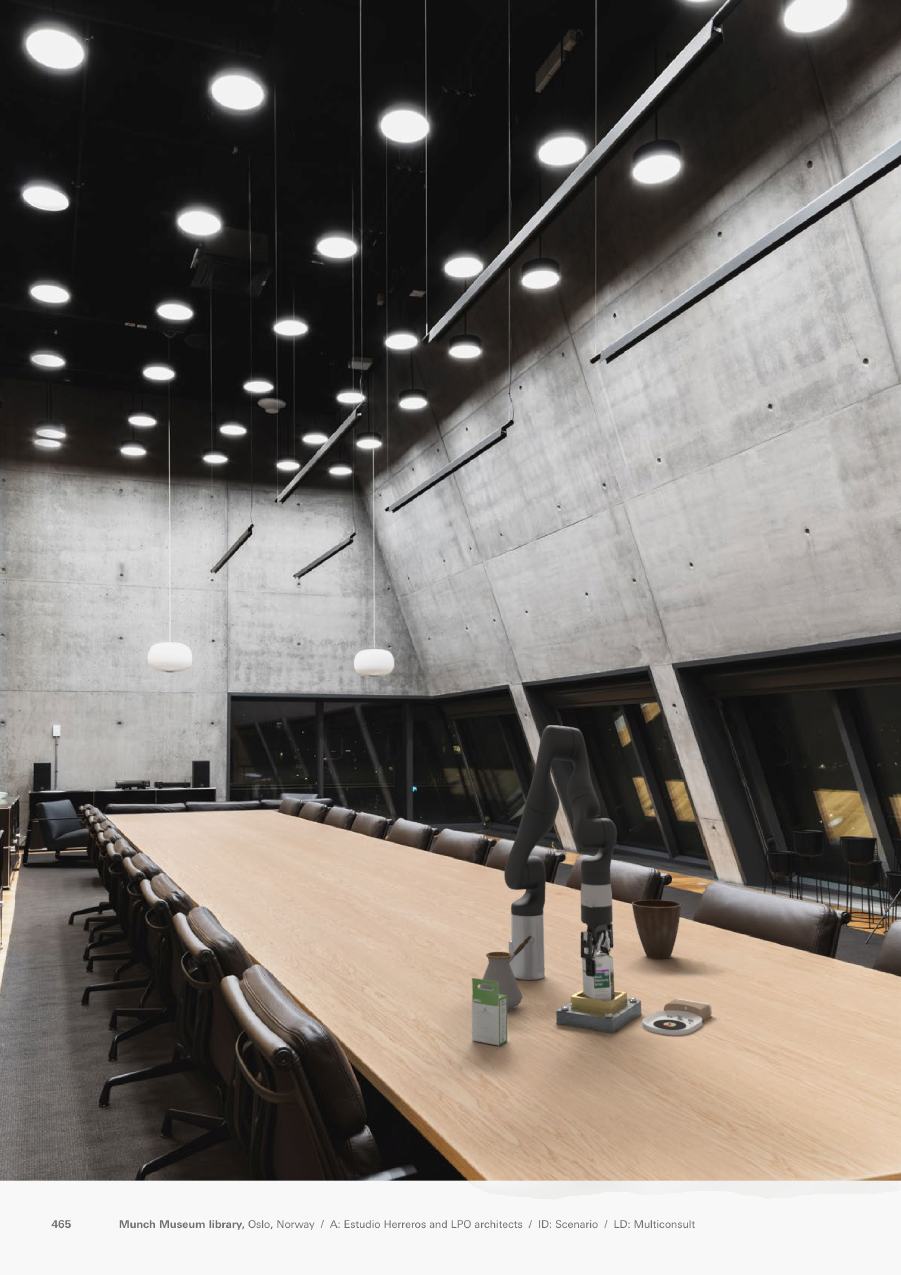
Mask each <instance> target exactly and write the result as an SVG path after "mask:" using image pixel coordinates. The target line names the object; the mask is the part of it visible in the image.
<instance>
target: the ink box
mask: <svg viewBox="0 0 901 1275" xmlns="http://www.w3.org/2000/svg"><path fill="white" fill-rule="evenodd" d="M480 984H487V985H490V986H492V987H493V990H487V989H480V988H479V986H480ZM471 985H472V986H471V988H472V995H471V1014H472V1015H471V1020H472V1021H471V1022H472V1023H471V1028H472V1029H471V1036H472V1037H471V1038H472V1039H471V1040H472V1041H474V1042H479V1043H484V1044H489V1045H493V1046H494V1045H495V1046H501V1045H503V1044H506V1043H507V1042H508V1012H507V995H501V994H499V982H498V981H491V980H483V978H475V977H472V978H471Z"/></svg>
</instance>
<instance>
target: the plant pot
mask: <svg viewBox="0 0 901 1275" xmlns="http://www.w3.org/2000/svg"><path fill="white" fill-rule="evenodd" d="M631 904H632V911H633V917H634V921H635V925H636V929H637V933H638V937H639V940H640V943H641V945H642V946H641V947H642V948H643V950H644V953H645V956H646V957H647V958H650V959H657V960H658V959H659V960H660V959H661V960H663V959H670V958H671V957H672V953H673V951H674V948H675V943H676V940H677V934H678V930H679V924H680V918H681V907H682V904H681V903H680V902H677V901H672V900H664V899H663V900H662V899H642V900H635V901H632V902H631Z"/></svg>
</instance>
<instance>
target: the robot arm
mask: <svg viewBox="0 0 901 1275" xmlns="http://www.w3.org/2000/svg"><path fill="white" fill-rule="evenodd" d="M541 734H542V735H541V736H540V740H539V746H538V750H537V758H536V762H535V766H534V771H533V776H532V780H531V784H530V787H529V790H528V794H527V797H526V800H525V803H524V807H523V811H522V815H521V820H520V823H519V826H518V830H517V833H516V836H515V839H514V842H513V844H512V847H511V849H510V852H509V855H508V856H507V859H506V863H505V866H504V872H503V874H504V882H505V884H506V886H507V887H508V889H510V890H514V891H519V890H520V891H521V890H522V891H523V890H525V892H524V894H522V896H521V897H520V898H518V899H517V900H515V901H513V902H512V903H511V906H510V912H511V913H510V915H511V916H510V921H511V922H510V923H511V928H510V929H511V931H510V932H511V940H509V941H508V953H510V954H511V955H512V954H513V953H514V952H515V950H516V949H517V948H518V946H519V945H520V944H521V943H523V942H524V940H525V939H527V937H528V936H531V937H533V938H534V939H535V942H534V939H533V938H531V939H530V940H529V941H530V942H534V943H530V942H529V941H528V943H527V944H526V945H525V946H524V948H523V949H522V950H521V951H520V952H519V953H518V954H517V955H516V956H515V957H514V958H513V959H512V961H511V962H510V963H509V964H510V967H511V969H512V972H513V974H514V976H515V979H518V980H524V981H526V980H529V981H531V980H532V981H534V980H535V981H536V980H540V979H543V978H544V977H545V976H546V975H545V973H546V972H545V970H546V969H545V928H544V927H545V924H544V909H545V908H544V907H545V904H546V882H547V881H546V880H547V879H546V878H547V874H546V866H545V864H544V861H543V859H542V858H541V857H540V856H538V855H531V854H532V852H533V850H534V849H535V847H536V846H537V845H538V844H539V843H540V842H541V841H542V840H543V839H544V837H545V836H546V835H547V834H548V833H549V832H550V831H551V829H552V828H553V826H554V825H555V822H556V818H557V816H558V815H557V814H558V810H559V808H560V798H559V795H558V794H559V793H558V792H557V789H556V786H555V784H554V782H553V778H552V764H553V762H554V761H563V762H571V763H572V765H573V771H572V773H571V775H570V777H569V780H568V782H567V784H566V785H567V786H566V795H567V799H568V801H569V805H570V808H571V811H572V818H573V820H572V822H573V825H572V827H573V828H572V839H573V841H574V843H575V844H576V845H577V846H578V847H580V848H582V849H598V850H597V853H596V854H595V855H594V856H590V857H586V858H583V859H582V860H581V863H580V871H581V872H580V876H581V878H580V879H581V881H580V882H581V884H580V920H581V922H582V923H583V924H585V925H586V926H587V927H586V931H583V930H582V931H581V932H580V958H581V959H582V958H584V959H586V975H587V976H591V977H594V976H595V975H596V965H595V957H596V954H598V952H599V951H600V952H599V953H605V954H608V955H610V953H611V952H612V951H611V950H612V949H614V932H613V931H614V928H613V926H614V925H613V892H612V887H611V886H612V885H611V883H612V882H611V865H612V858H613V854H614V850H615V846H616V842H617V837H618V836H617V835H618V831H617V826H616V824H615V823H614V821H613V820H611V819H610V818H606V817H604V818H603V817H602V818H601V817H600V818H598V816H599V814H600V812H601V804H600V802H599V799H598V796H597V793H596V790H595V788H594V786H593V782H592V777H591V772H590V764H589V758H588V752H587V747H586V741H585V739H584V736H583V733H582V731H581V730H580V729H579V728H577V727H576V728H575V727H571V726H562V725H554V724H553V725H547V726H545V727H544V729H543V732H542V733H541Z"/></svg>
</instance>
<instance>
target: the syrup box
mask: <svg viewBox="0 0 901 1275" xmlns="http://www.w3.org/2000/svg"><path fill="white" fill-rule="evenodd" d="M581 965H582V990H583V997H584V998H591V999H597V1000H604V1001H610V1000H612V999H613V998H615V993H614V991H615V975H614V956H613V957H612V956H611V955H610V954H609V955H608V954H605V953H600V952H599V953H598V952H597V953H596V957H595V965H596V975H595V976H594V977H591V976H587V975H586V959H584V958H581Z"/></svg>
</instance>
